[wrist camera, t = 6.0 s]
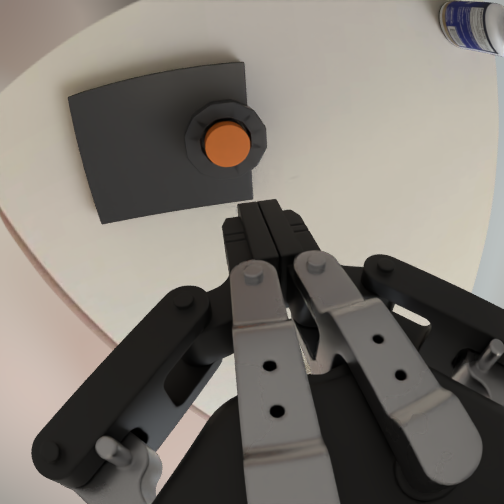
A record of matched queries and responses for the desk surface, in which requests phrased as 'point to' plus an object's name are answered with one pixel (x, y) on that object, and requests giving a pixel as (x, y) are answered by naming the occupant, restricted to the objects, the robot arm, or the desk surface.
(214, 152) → the button
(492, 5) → the pill bottle
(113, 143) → the scale
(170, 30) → the desk surface
